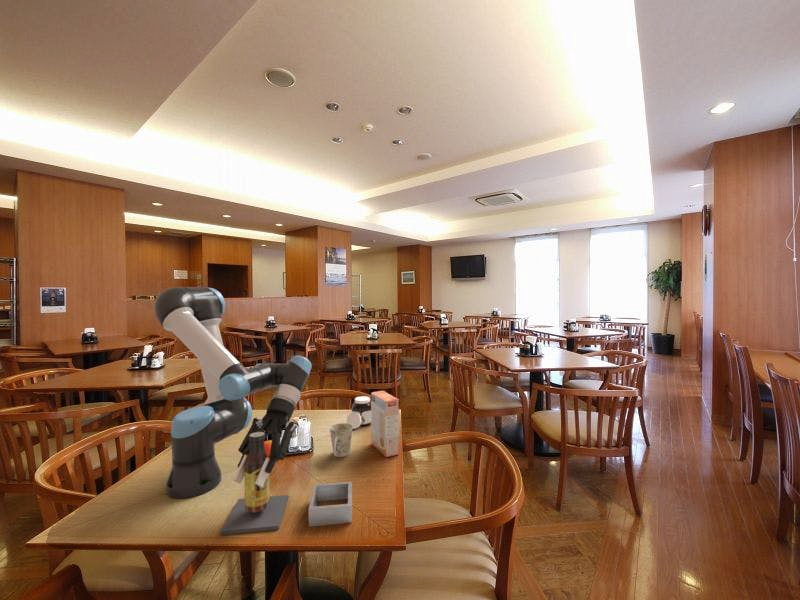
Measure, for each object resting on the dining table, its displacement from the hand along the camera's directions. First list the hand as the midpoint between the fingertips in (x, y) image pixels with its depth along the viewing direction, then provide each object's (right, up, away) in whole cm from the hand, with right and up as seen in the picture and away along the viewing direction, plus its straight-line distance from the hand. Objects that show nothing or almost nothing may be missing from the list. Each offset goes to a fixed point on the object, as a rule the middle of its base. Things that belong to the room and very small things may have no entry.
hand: (247, 483), depth 93 cm
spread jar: (+22, -9, +69) cm, 73 cm away
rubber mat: (+1, -11, +4) cm, 11 cm away
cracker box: (+34, -10, +43) cm, 56 cm away
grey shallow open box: (+21, -10, +5) cm, 24 cm away
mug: (+18, -10, +38) cm, 43 cm away
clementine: (-7, -10, +36) cm, 38 cm away
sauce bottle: (+1, -9, +4) cm, 9 cm away
